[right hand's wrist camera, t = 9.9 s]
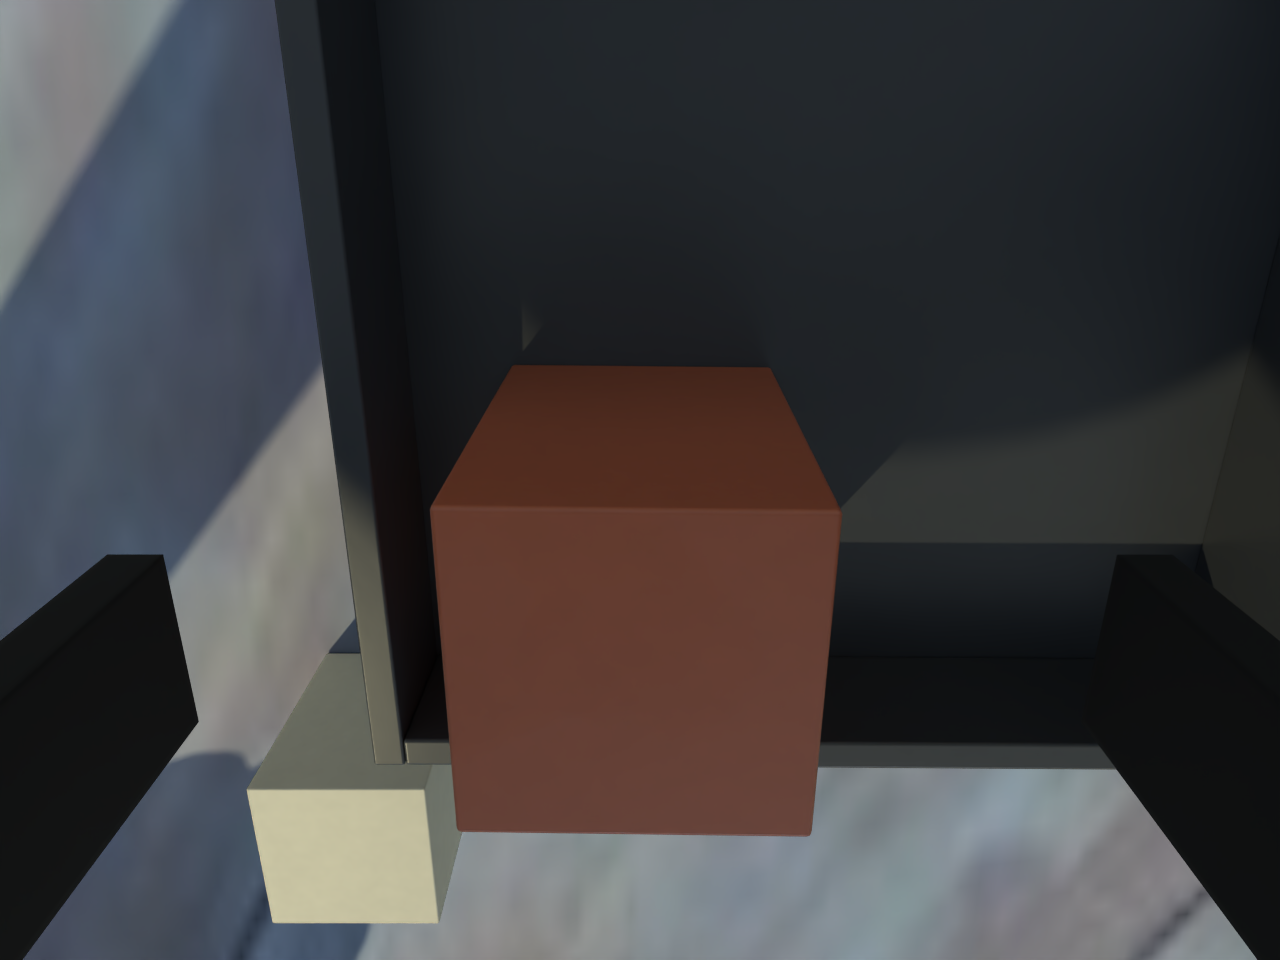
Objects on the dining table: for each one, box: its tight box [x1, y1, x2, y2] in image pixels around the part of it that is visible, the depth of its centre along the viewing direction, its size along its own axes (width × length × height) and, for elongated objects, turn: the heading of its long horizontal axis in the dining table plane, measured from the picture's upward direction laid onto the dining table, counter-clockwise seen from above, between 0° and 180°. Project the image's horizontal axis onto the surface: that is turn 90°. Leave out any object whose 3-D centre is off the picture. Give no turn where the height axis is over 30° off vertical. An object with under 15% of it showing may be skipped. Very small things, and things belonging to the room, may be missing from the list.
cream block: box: [247, 654, 462, 923], centre depth 29 cm, size 5×5×7 cm
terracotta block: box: [430, 365, 842, 836], centre depth 15 cm, size 5×5×7 cm
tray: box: [275, 0, 1280, 769], centre depth 13 cm, size 27×17×9 cm, turn 90°
